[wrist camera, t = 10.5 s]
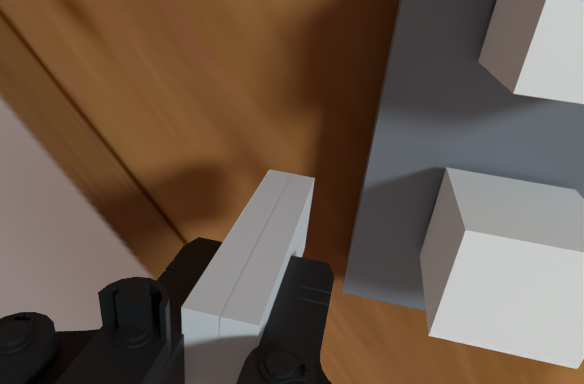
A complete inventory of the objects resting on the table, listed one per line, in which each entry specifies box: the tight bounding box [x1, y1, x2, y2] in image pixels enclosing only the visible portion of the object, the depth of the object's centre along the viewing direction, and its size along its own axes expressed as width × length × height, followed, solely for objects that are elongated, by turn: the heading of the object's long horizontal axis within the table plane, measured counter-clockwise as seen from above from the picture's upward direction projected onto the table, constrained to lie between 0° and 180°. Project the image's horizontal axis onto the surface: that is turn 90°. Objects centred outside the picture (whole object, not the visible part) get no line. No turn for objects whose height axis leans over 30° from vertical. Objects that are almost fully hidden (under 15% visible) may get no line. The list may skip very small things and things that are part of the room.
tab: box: [420, 167, 584, 369], centre depth 13 cm, size 4×4×4 cm
